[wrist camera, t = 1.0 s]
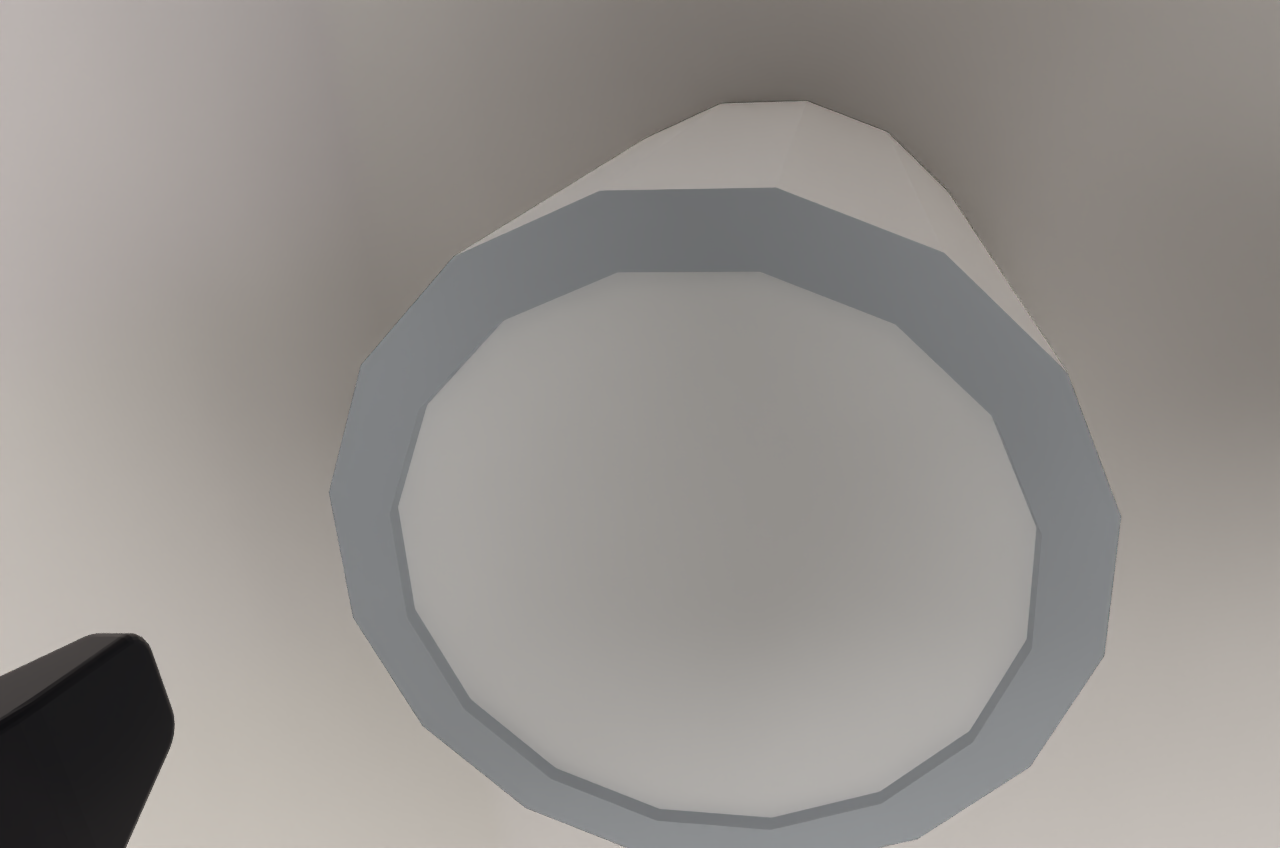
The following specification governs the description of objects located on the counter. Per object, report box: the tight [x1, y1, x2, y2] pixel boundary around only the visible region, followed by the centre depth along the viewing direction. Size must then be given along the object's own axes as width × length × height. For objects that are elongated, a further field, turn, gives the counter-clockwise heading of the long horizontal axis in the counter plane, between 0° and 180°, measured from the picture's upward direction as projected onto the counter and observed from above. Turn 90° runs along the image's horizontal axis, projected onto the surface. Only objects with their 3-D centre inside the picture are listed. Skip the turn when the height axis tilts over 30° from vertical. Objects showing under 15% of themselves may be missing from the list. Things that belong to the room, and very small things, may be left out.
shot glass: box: [329, 101, 1121, 848], centre depth 13 cm, size 7×7×7 cm
